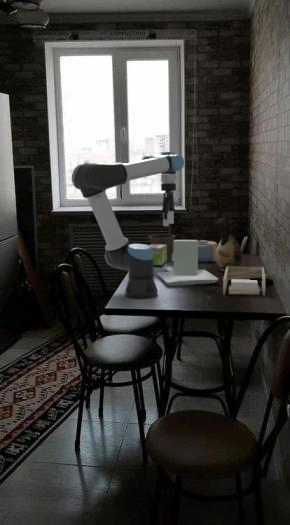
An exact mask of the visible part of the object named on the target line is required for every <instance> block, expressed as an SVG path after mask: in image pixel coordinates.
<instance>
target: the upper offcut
mask: <svg viewBox="0 0 290 525" xmlns="http://www.w3.org/2000/svg"><path fill="white" fill-rule="evenodd" d="M230 281H231V282H230V283H231V289H258V286H259V283H258V281H257V280H250V279H232V280H230Z"/></svg>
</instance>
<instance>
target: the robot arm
mask: <svg viewBox="0 0 290 525" xmlns="http://www.w3.org/2000/svg"><path fill="white" fill-rule="evenodd" d="M184 166H185V159H184V157H183V156H182V155H180V154H176V152H175V151H162V152H161V153H160V155H159V154H158V155H151V154H149V155H144V156H143V158H142V160H139V161H133V162H128V163H127V162H126V163H122V162H116V163H115V162H113V163H109V162H107V163H106V162H105V163H103V162H97V163H96V162H95V163H90V162H89V163H88V162H84V163H80V164H78V165H77V166H75V167H74V169H73V171H72V174H71V182H72V185H73V186H74V188H75V189H77V190H80V193H81V195H82V197H83V198H84V199H86V200H87V201H88V202H89V205H90V207H91V209H92V212H93V214H94V217H95V219H96V221H97V224H98V226H99V229H100V231H101V234H102V236H103V238H104V240H105V243H106V244H105V246H104V249H105V253H104V259H105V262H106V264H107V265H108V266H110V267H111V268H113V269H117V270H123V271H126V272H127V271H128V280H127V283H126V286H125V291H124V293H125V294H124V295H125V297H126V298H129V299H142V300H144V299H151V298H155V297H157V296H158V288H157V285H156V281H155V278H154V277H155V276H154V274H155V273H154V255H153V249H152V247H150V246H149V245H148V244H143V243H131V244H130V240H129V239H128V238H127V237H125V236H124V234H123V233H122V230H121V227H120V225H119V222H118V220H117V217H116V215H115V212H114V210H113V207H112V205H111V203H110V200H109V197H108V195H107V194H106V193H107V190H108V189H112V188H115V187H117V186H121V185H122V186H123V185H125V184H126V183H127V182H128V181H133V180H137V179H142V178H143V179H144V178H147V177H151V176H156V175H160V182H161V184H160V191H162V192H163V200H162V209H161V214H162V226H163V227H169V225H170V224H172V225H173V224H174V223H175V221H174V220H175V219H174V218H175V217H174V215H175V214H174V213H175V211H176V208H175V202H174V201H175V200H174V191H175V192H176V190H177V184H176V182H177V178H178V176H177V171H181V170H183V169H184Z"/></svg>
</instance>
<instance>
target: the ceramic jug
mask: <svg viewBox="0 0 290 525" xmlns="http://www.w3.org/2000/svg"><path fill="white" fill-rule="evenodd" d="M223 223H225V225H224V226H223ZM236 226H238V223H237V221H235V220H234V219H233V220H228V219H227V217H226V218H225V217H222V218H220V219H219V221H218V229H219V233H220V235H221V239H220V241H219V243H217V245H216V246H217V249H216V253H215V260H216V261H215V263H216V264H217V265H218V266H219V268H220V270H221V272H225V270H226V267H240V265H241V263H242V261H243V253H242V252H243V251H242V247H241V246H240V244H239V243H238V241H237V239H236V237H234V236H233V233H232V229H233V228H235V227H236Z"/></svg>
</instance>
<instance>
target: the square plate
mask: <svg viewBox="0 0 290 525" xmlns="http://www.w3.org/2000/svg"><path fill="white" fill-rule="evenodd" d="M155 274H156V275H157V276H158V277H159V278H160V279H161V280H163V281H164V283H165V284H166V285H167V286H170V287H181V286H183V287H184V286H193V285H194V286H196V285H197V284H199V285H209V284H215V283H216V282H217V281H218V280H219V278H218V277H217V276H215V275H214V274H212V273H211V272H209V271H207V270H206V269H198V275H197V276H175V275H174V270H170V271H164V272H158V273H155Z"/></svg>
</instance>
